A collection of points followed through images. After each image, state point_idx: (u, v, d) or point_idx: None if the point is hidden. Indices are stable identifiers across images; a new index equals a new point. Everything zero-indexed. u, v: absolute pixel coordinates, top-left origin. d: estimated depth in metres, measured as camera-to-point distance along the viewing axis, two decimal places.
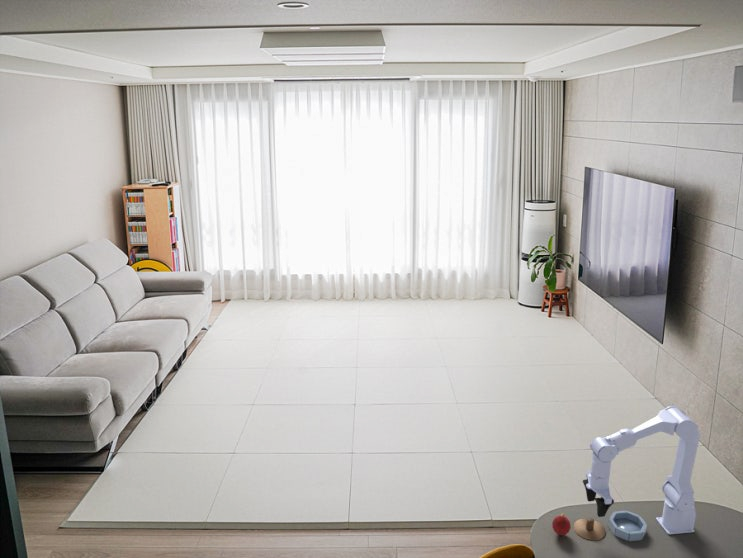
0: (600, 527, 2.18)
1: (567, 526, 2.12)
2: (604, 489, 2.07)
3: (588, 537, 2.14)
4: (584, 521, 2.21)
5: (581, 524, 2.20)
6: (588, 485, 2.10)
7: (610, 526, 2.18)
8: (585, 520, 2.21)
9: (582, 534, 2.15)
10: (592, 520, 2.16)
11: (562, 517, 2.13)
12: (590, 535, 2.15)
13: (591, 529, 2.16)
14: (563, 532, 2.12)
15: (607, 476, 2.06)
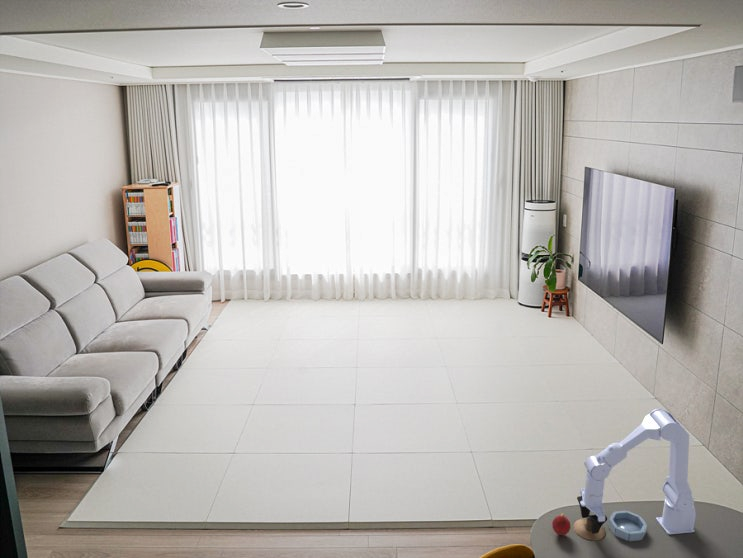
0: None
1: (567, 526, 2.12)
2: (598, 506, 2.11)
3: (588, 537, 2.14)
4: (584, 521, 2.21)
5: (581, 524, 2.20)
6: (582, 502, 2.14)
7: (610, 526, 2.18)
8: (585, 520, 2.21)
9: (582, 534, 2.15)
10: None
11: (562, 517, 2.13)
12: (590, 535, 2.15)
13: None
14: (563, 532, 2.12)
15: (600, 494, 2.10)
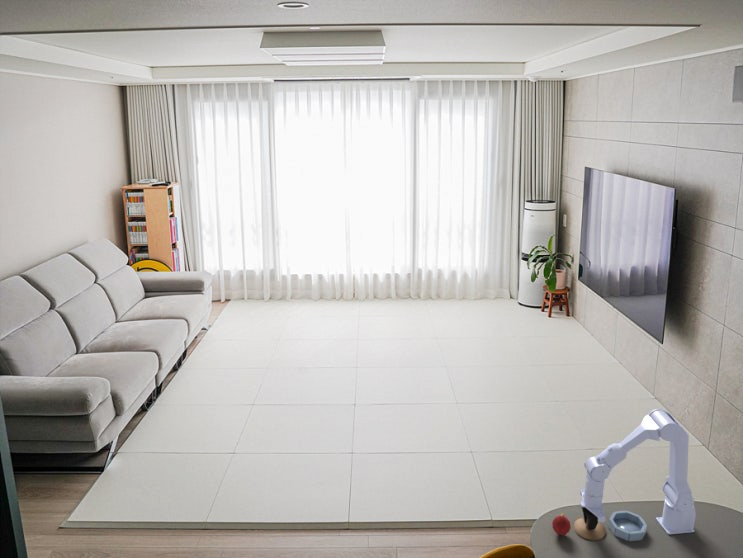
0: (600, 526, 2.18)
1: (567, 526, 2.12)
2: (598, 507, 2.12)
3: (588, 536, 2.14)
4: None
5: (581, 523, 2.19)
6: (582, 503, 2.14)
7: (610, 526, 2.18)
8: None
9: (582, 533, 2.15)
10: None
11: (562, 517, 2.13)
12: (590, 534, 2.14)
13: None
14: (563, 532, 2.12)
15: (600, 495, 2.10)
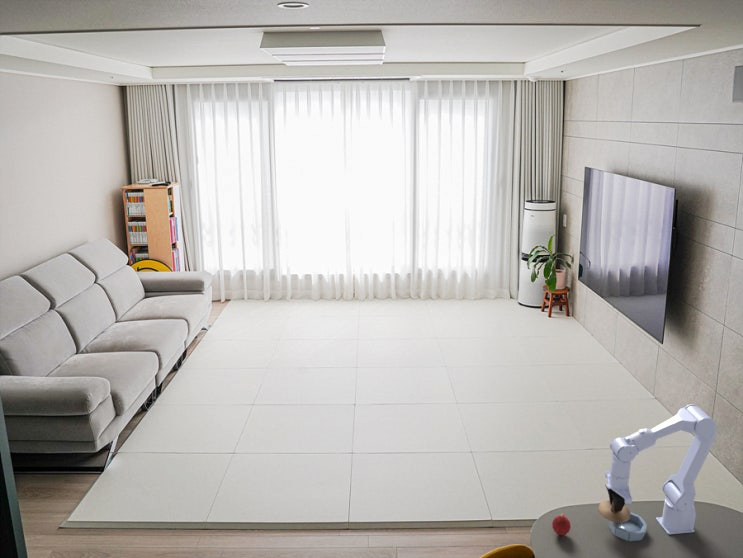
0: (625, 509, 2.16)
1: (567, 526, 2.12)
2: (624, 489, 2.09)
3: (613, 518, 2.11)
4: (609, 503, 2.19)
5: (606, 506, 2.17)
6: (608, 485, 2.12)
7: (610, 526, 2.18)
8: None
9: (607, 515, 2.13)
10: None
11: (562, 517, 2.13)
12: (615, 517, 2.12)
13: None
14: (563, 532, 2.12)
15: (627, 476, 2.08)
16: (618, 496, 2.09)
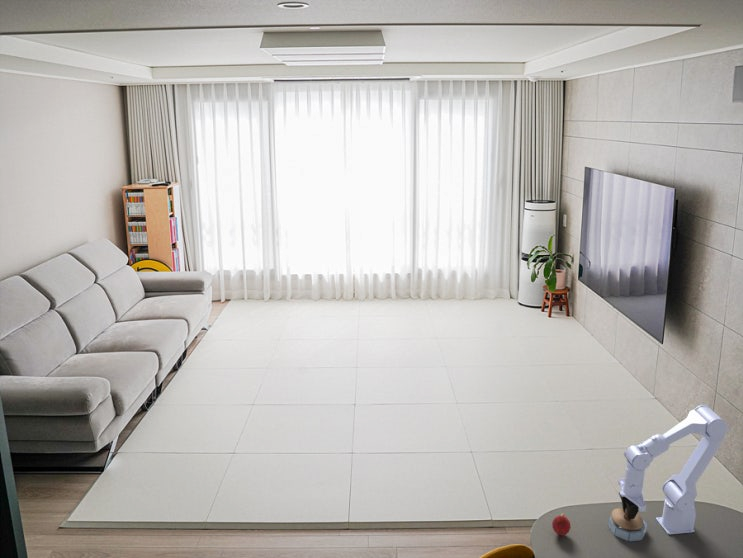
0: (638, 517, 2.17)
1: (567, 526, 2.12)
2: (638, 496, 2.10)
3: (626, 526, 2.12)
4: (621, 510, 2.19)
5: (619, 513, 2.18)
6: (622, 492, 2.12)
7: (610, 526, 2.18)
8: (622, 510, 2.20)
9: (620, 522, 2.13)
10: None
11: (562, 517, 2.13)
12: (628, 524, 2.13)
13: None
14: (563, 532, 2.12)
15: (641, 484, 2.09)
16: (632, 504, 2.10)
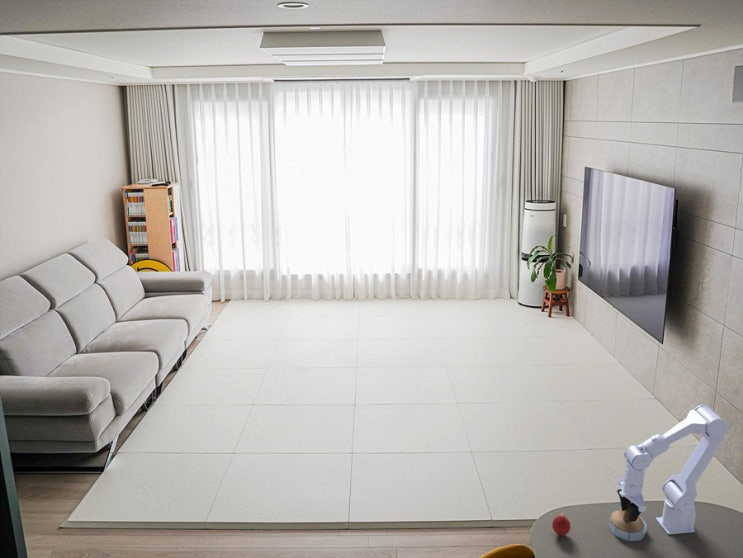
0: (637, 519, 2.17)
1: (567, 526, 2.12)
2: (638, 497, 2.10)
3: (626, 528, 2.12)
4: (621, 512, 2.20)
5: (618, 515, 2.18)
6: (622, 493, 2.13)
7: (610, 526, 2.18)
8: (622, 511, 2.20)
9: (620, 525, 2.14)
10: None
11: (562, 517, 2.13)
12: (628, 526, 2.13)
13: (629, 520, 2.15)
14: (563, 532, 2.12)
15: (641, 484, 2.09)
16: (632, 504, 2.10)
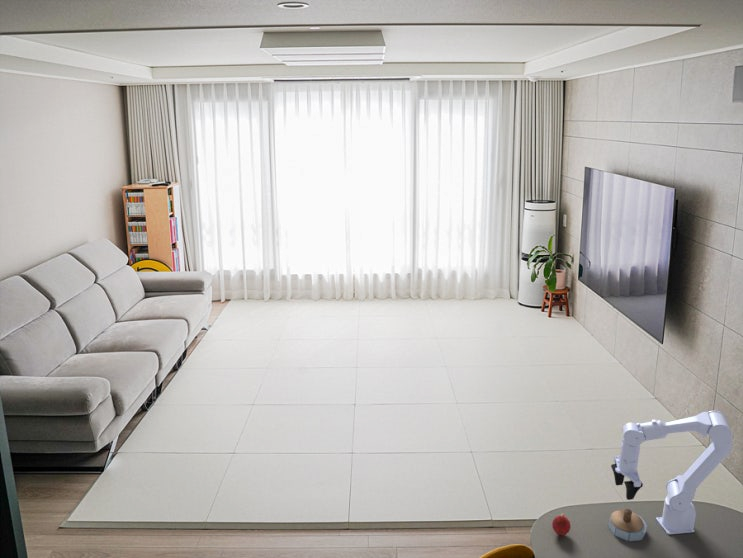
0: (637, 519, 2.17)
1: (567, 526, 2.12)
2: (633, 473, 2.14)
3: (626, 528, 2.12)
4: (621, 512, 2.20)
5: (618, 515, 2.18)
6: (617, 469, 2.17)
7: (610, 526, 2.18)
8: (622, 511, 2.20)
9: (620, 525, 2.14)
10: (630, 511, 2.15)
11: (562, 517, 2.13)
12: (628, 526, 2.13)
13: (629, 520, 2.15)
14: (563, 532, 2.12)
15: (633, 461, 2.13)
16: None
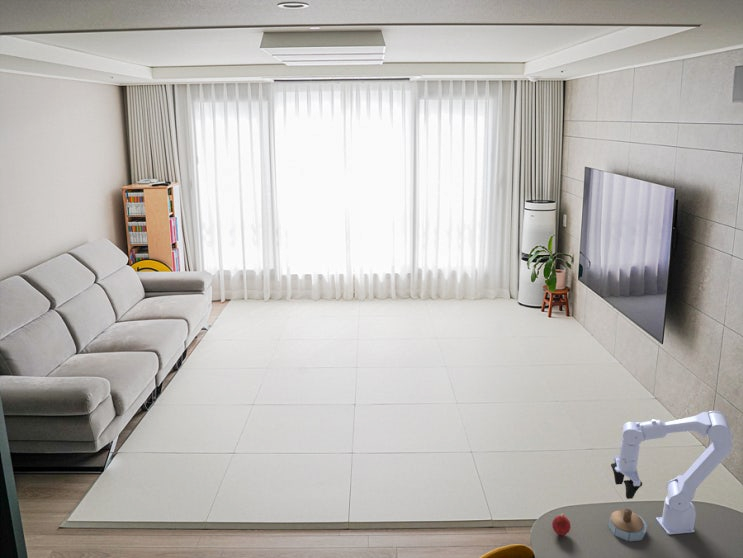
0: (637, 519, 2.17)
1: (567, 526, 2.12)
2: (632, 472, 2.15)
3: (626, 528, 2.12)
4: (621, 512, 2.20)
5: (618, 515, 2.18)
6: (617, 468, 2.17)
7: (610, 526, 2.18)
8: (622, 511, 2.20)
9: (620, 525, 2.14)
10: (630, 511, 2.15)
11: (562, 517, 2.13)
12: (628, 526, 2.13)
13: (629, 520, 2.15)
14: (563, 532, 2.12)
15: (633, 460, 2.13)
16: None
